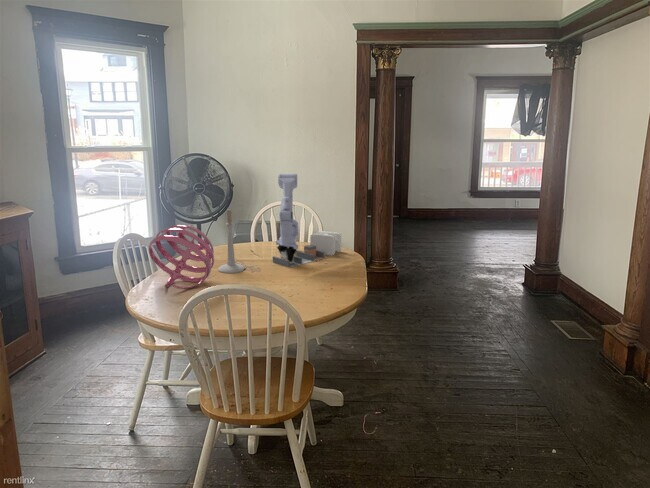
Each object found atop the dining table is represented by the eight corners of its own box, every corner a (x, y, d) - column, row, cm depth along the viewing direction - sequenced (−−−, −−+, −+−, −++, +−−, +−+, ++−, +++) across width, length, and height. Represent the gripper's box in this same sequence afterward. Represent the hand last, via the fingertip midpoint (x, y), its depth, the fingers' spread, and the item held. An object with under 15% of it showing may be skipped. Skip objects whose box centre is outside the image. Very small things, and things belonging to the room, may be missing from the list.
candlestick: (239, 274, 236) (236, 211, 229) (213, 272, 239) (210, 210, 232) (248, 266, 249) (246, 206, 242) (224, 265, 251) (221, 205, 244)
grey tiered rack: (271, 263, 254) (271, 256, 253) (307, 255, 271) (307, 247, 270) (289, 269, 244) (289, 261, 243) (325, 259, 261) (325, 252, 261)
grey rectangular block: (280, 263, 251) (280, 251, 250) (288, 261, 255) (288, 249, 253) (286, 264, 249) (285, 252, 247) (293, 262, 252) (293, 251, 251)
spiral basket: (168, 255, 193) (199, 207, 210) (121, 263, 207) (153, 217, 224) (210, 300, 209) (236, 252, 226) (164, 304, 223) (191, 258, 241)
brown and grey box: (304, 257, 262) (304, 246, 261) (310, 255, 266) (310, 244, 265) (309, 258, 260) (309, 247, 258) (316, 256, 263) (316, 245, 262)
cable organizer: (308, 254, 273) (308, 233, 270) (317, 250, 282) (317, 229, 279) (333, 257, 266) (333, 236, 263) (342, 253, 275) (342, 232, 272)
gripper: (271, 233, 250) (271, 259, 254) (290, 237, 241) (290, 264, 244) (281, 231, 255) (282, 256, 258) (301, 235, 245) (301, 262, 249)
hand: (287, 260), depth 251 cm, fingers open, 4 cm apart
